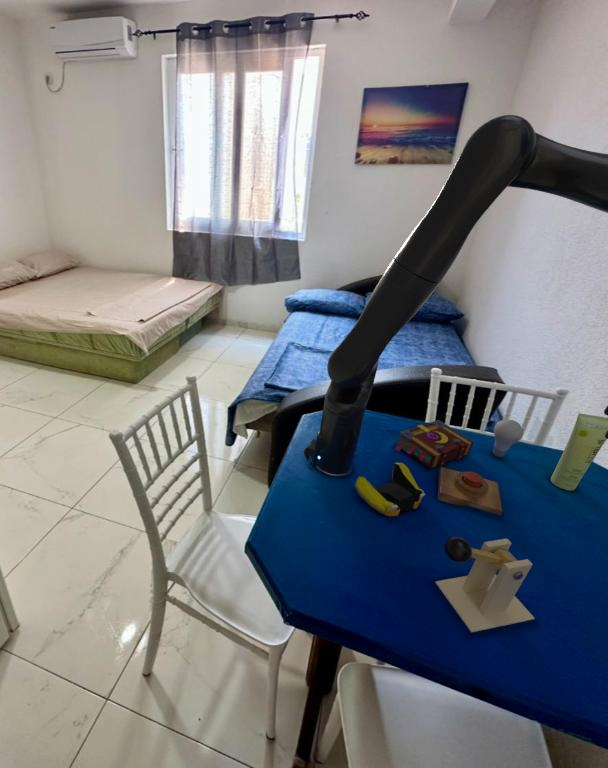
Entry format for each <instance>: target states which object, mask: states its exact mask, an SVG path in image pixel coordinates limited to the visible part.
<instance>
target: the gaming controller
mask: <svg viewBox="0 0 608 768" xmlns="http://www.w3.org/2000/svg"><path fill="white" fill-rule="evenodd" d="M391 475H392V476H391V481H390V482H388V483H385V484H383V485H380V486H377V487H374V486H373V485H372V484H371V483H370V481H369V480H367V478H366V477H364V476H358V477H357V479H356V481H355V484H354V488H355V490H356V492H357V494H358V496H359V497H360V498H361V499H362V500H363V501H364V502H365V503H366V504H367V505H368V506H369V507H370V508H373V509H374V510H375V511H377V512H378V513H380V514H382V515H383V516H385V517H397V516H399V515H402V514H404V513H406V512H409V511H410V510H413V509H418V507H419V506H420V504H421V502H422V501H423V500H422V499H423V497H424V496H426V493H425V492H424V490H423V489H421V488H420V487H419V486H418V483H417V482H416V480H415V478H414V476H413V474H412V473H411V471H410V468H409V467H408V466H407V465H406V464H404V463H403V462H395V463H394V464H393V466H392V474H391Z"/></svg>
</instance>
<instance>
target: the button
mask: <svg viewBox="0 0 608 768" xmlns="http://www.w3.org/2000/svg"><path fill="white" fill-rule="evenodd" d="M465 472H466V473H465V475H464V478H463V482H464V483H465V484H467V485H468V486H471V487H474V488H479V487H480V486H481V484H482V482H483V479H484V478H483V476H482V475H480V474H479V473H478V472H475V471H465Z"/></svg>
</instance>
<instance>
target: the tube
mask: <svg viewBox="0 0 608 768" xmlns="http://www.w3.org/2000/svg"><path fill="white" fill-rule="evenodd" d="M607 430H608V416H607V417H606V416H599V415H592V414H586V413H581V412H580V413H578V415H577V417H576V420H575V423H574V426H573V429H572V430H571V433H570V436H569V438H568V440H567V443H566V445H565V447H564V449H563V452H562V454H561V456H560V458H559V461H558V462H557V464H556V466H555V469H554V471H553V473H552V475H551V477H550V481H551V483H552V484H553V485H554V486H555V487H558V488H559V489H563V490H565V491H575V490H576V489H577V487H578V486H579V484H580V483H581V480H582V479H583V477H584V476H585V474H586V472H587V471H588V469H589V468H590V466H591V464H592V463H593V461H594V460H595V458H596V456H597V455H598V454H599V452H600V450H601V449H602V448H603V446H604V445H605V443H606V442H607V440H608V439H607V438H606V437H605V433H606V432H607Z"/></svg>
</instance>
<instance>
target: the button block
mask: <svg viewBox="0 0 608 768" xmlns="http://www.w3.org/2000/svg"><path fill="white" fill-rule="evenodd" d="M466 472H467V471H458V470H455V469H451V468H447V467H444V466H440V467H439V470H438V474H437V500H438V501H441V502H444V503H447V504H451V505H453V506H457V507H465V506H469V507H472V508H474V509H475V508H476V509H478V510H481V511H485V512H488V513H491V514H495V515H498V516H501V515H502V513H503V507H502V500H501V495H500V490H499V483H498V481H494V480H490V479H487V478H483V482H482V484H481V486H480V487H479V488H474V487H471V486H468V485H467V484H465V483H464V482H463V478H464V475H465V473H466Z"/></svg>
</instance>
